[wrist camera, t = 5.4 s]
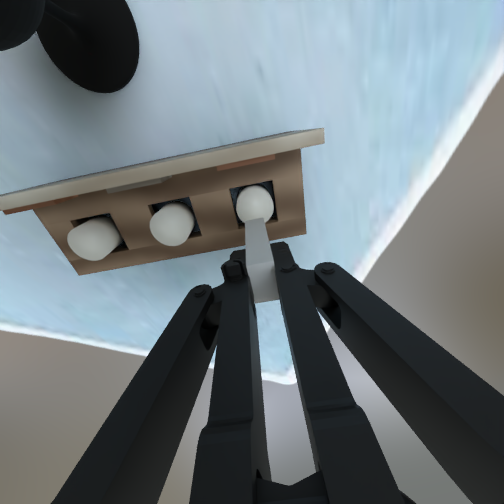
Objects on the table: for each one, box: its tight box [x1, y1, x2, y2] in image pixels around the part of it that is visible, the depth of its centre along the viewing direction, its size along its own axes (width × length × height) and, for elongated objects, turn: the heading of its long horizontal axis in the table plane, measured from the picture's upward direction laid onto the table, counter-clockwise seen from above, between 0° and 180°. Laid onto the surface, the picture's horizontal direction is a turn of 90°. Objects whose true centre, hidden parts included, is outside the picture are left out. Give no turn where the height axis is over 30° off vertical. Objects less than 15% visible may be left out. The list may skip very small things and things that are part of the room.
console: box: [0, 128, 325, 275], centre depth 25 cm, size 12×32×14 cm, turn 101°
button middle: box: [150, 201, 196, 246], centre depth 26 cm, size 4×4×4 cm
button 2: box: [236, 183, 274, 223], centre depth 27 cm, size 4×4×4 cm
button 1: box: [67, 216, 124, 261], centre depth 27 cm, size 4×4×4 cm
